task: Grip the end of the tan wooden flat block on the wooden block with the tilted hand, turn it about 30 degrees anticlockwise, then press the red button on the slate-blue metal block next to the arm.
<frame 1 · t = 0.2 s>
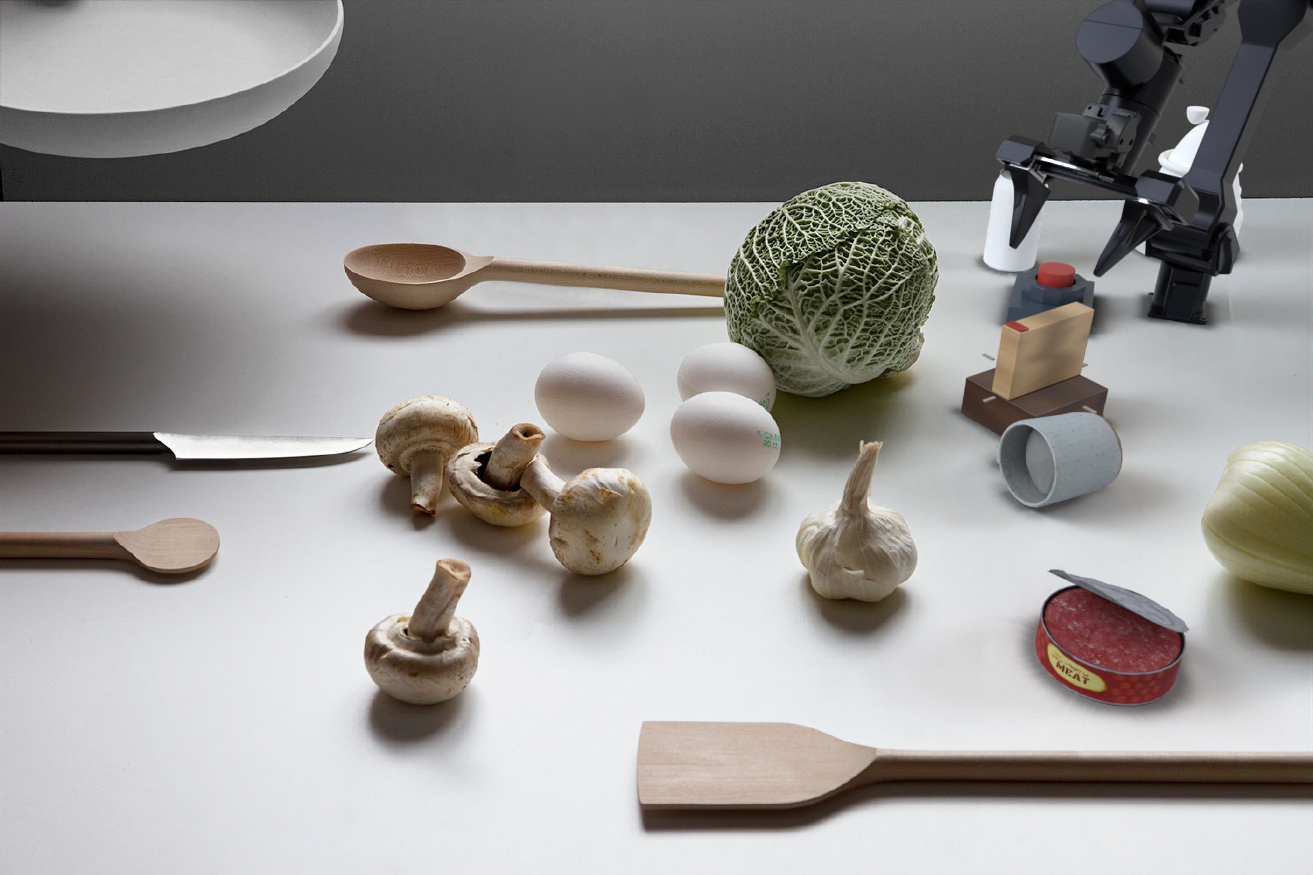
hand: (1053, 261, 109), 15 cm above the table, tool tilted 35°, fingers open, 9 cm apart
ceramic mug: (1041, 486, 102), on the table
wooden block: (1029, 418, 112), on the table
button block: (1049, 310, 134), on the table
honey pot: (1180, 248, 151), on the table
can: (1008, 265, 146), on the table
canned food: (1103, 659, 83), on the table
tan wooden flat block: (1043, 349, 108), point 8 cm above the table, hinge at 0.0°
button: (1056, 275, 132), point 4 cm above the table, slide at 0.1 cm
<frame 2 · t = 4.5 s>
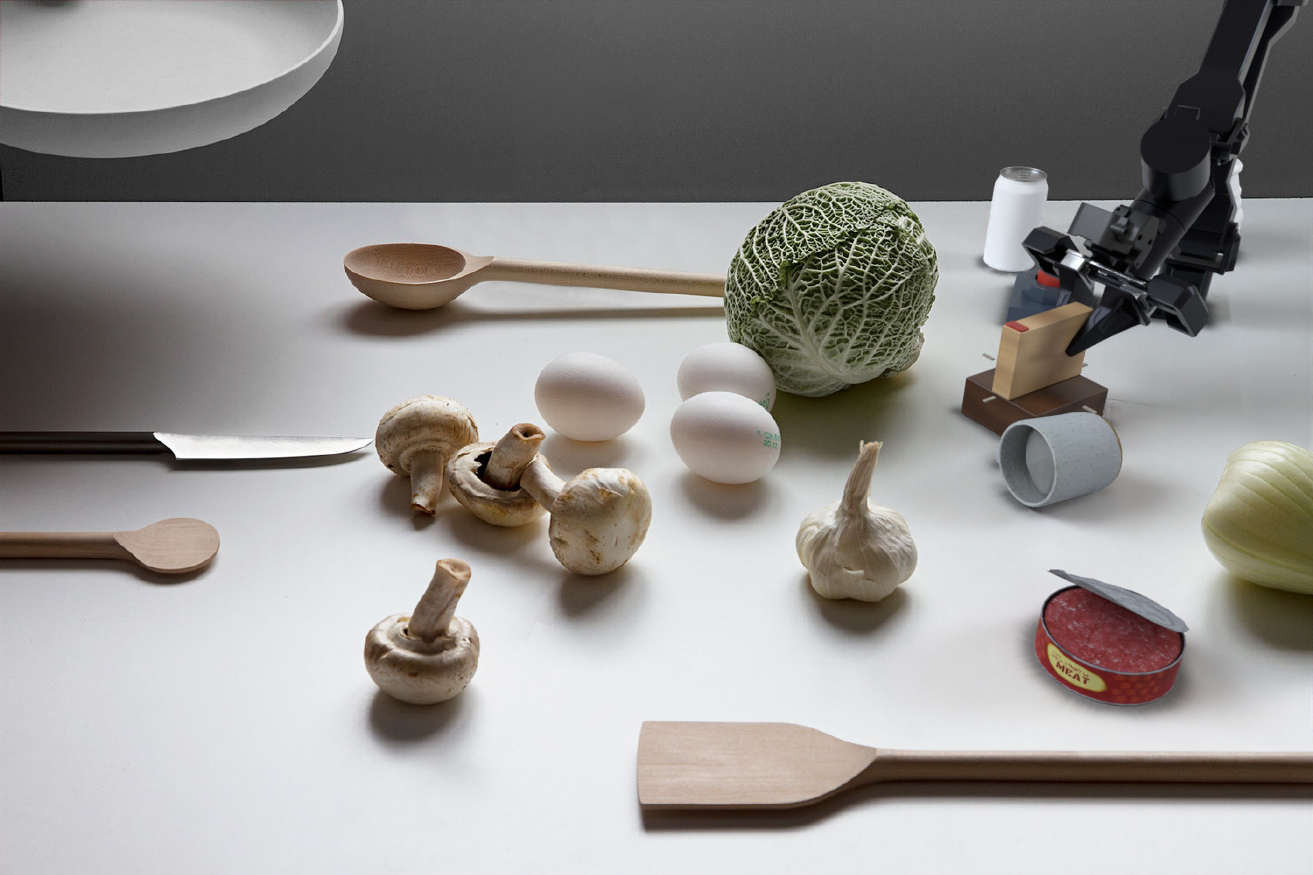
hand: (1057, 349, 110), 7 cm above the table, tool tilted 45°, fingers closed on tan wooden flat block, 2 cm apart
tan wooden flat block: (1043, 349, 108), point 8 cm above the table, hinge at 0.0°, touching gripper
everything else where it was.
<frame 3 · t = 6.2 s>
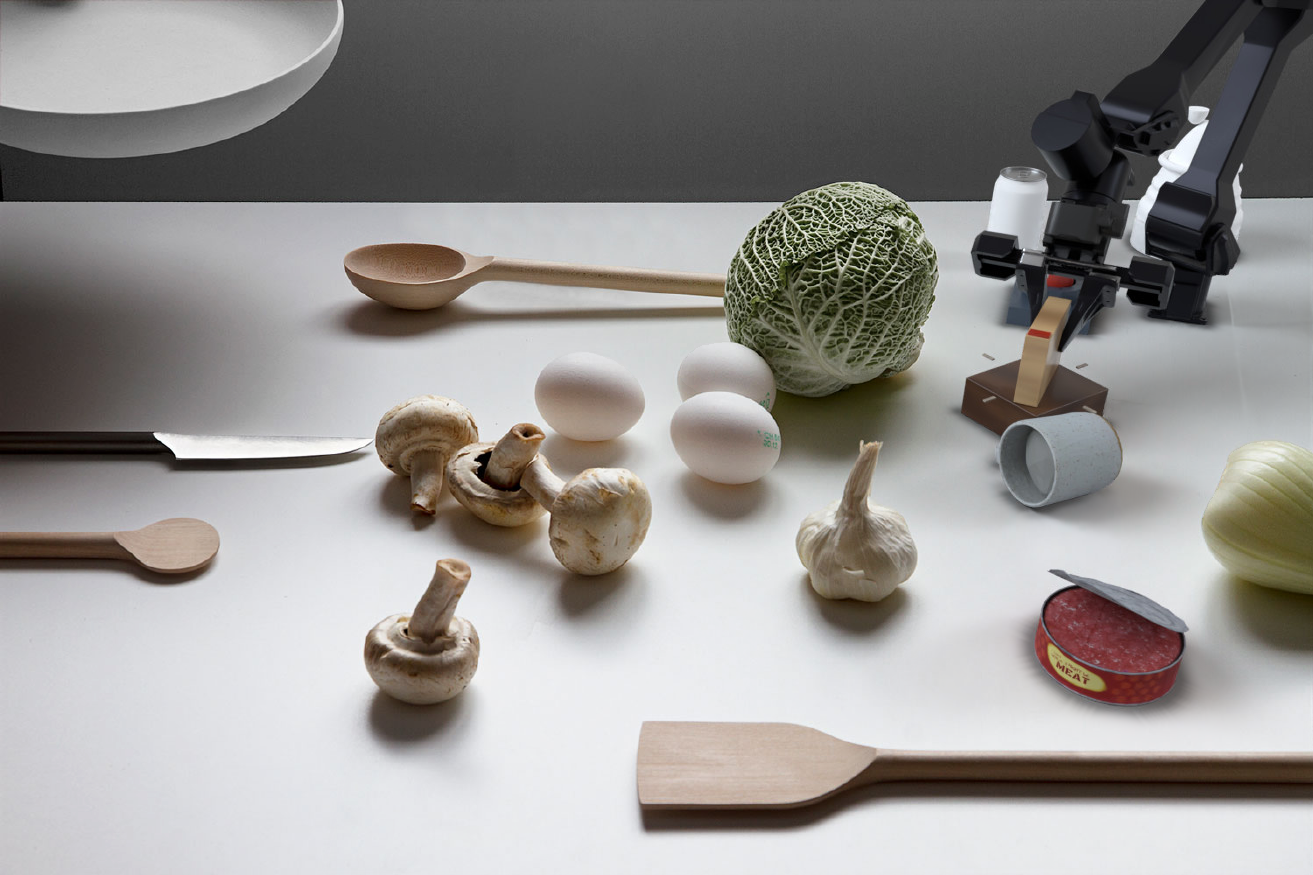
hand: (1046, 348, 110), 7 cm above the table, tool tilted 45°, fingers closed on tan wooden flat block, 2 cm apart
tan wooden flat block: (1043, 349, 108), point 8 cm above the table, hinge at 30.1°, touching gripper
everything else where it was.
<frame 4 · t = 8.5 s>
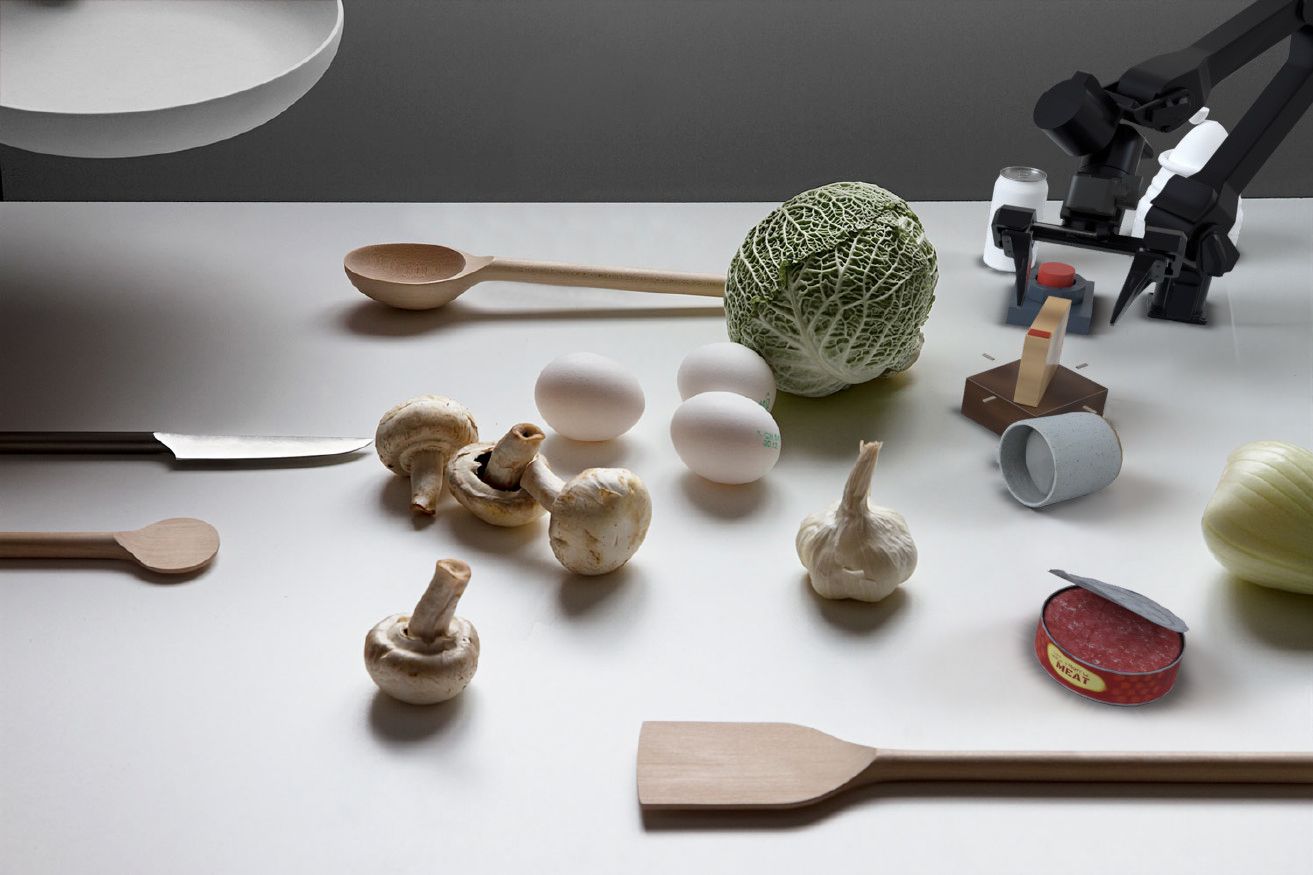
hand: (1064, 315, 115), 7 cm above the table, tool tilted 45°, fingers open, 9 cm apart
tan wooden flat block: (1043, 349, 108), point 8 cm above the table, hinge at 30.2°
everything else where it was.
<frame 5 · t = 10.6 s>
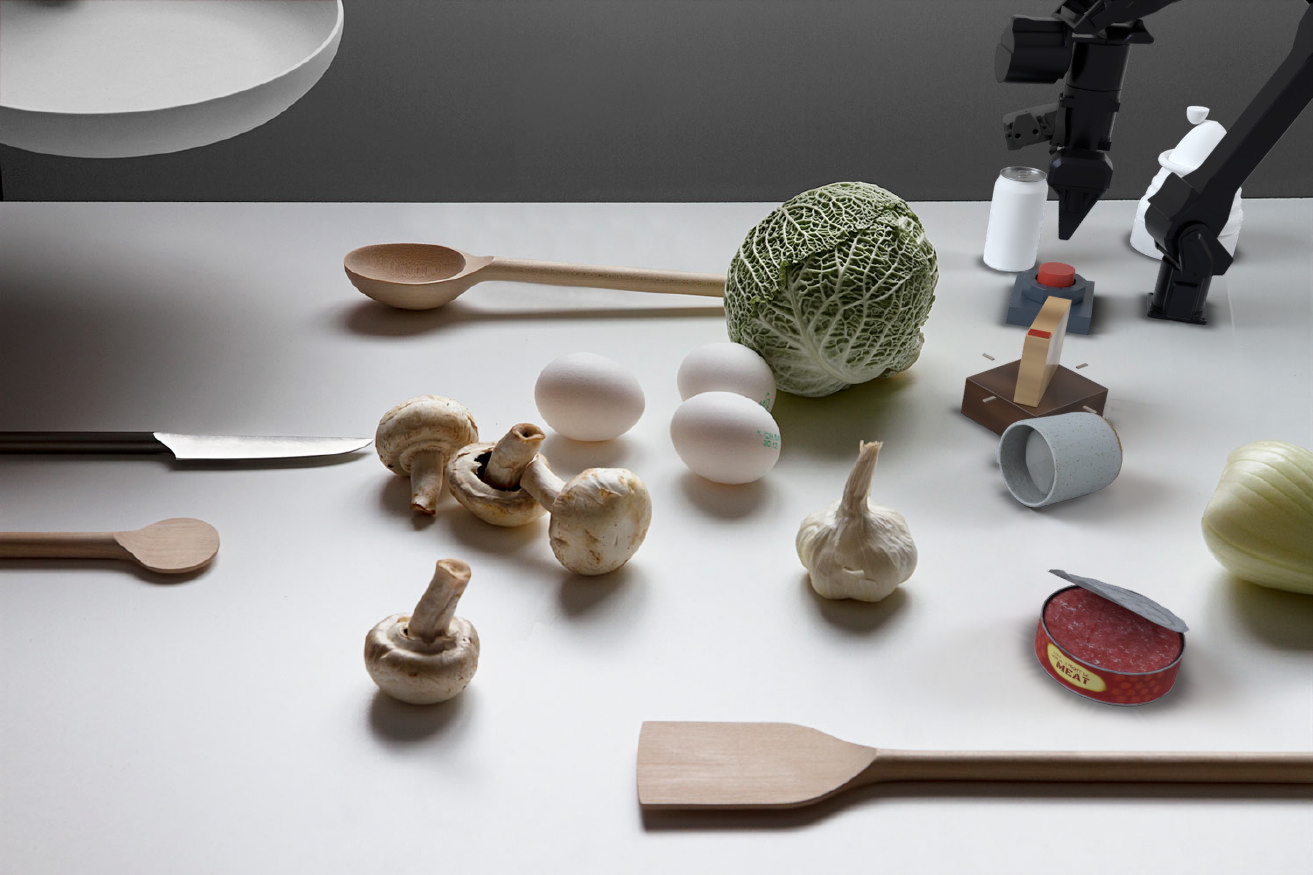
hand: (1063, 226, 128), 11 cm above the table, tool pointing down, fingers open, 9 cm apart
nothing on the table moved.
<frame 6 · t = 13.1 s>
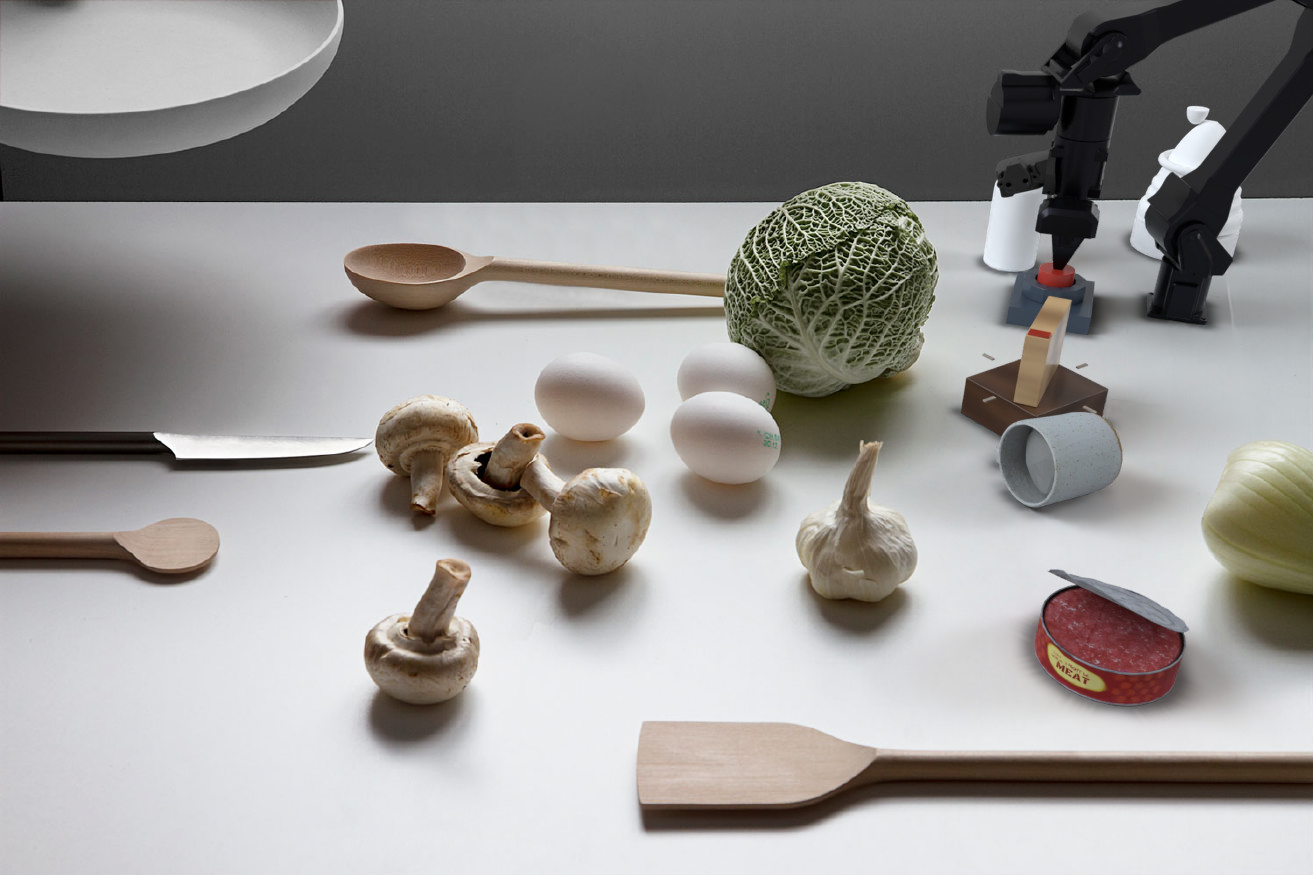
hand: (1058, 268, 131), 5 cm above the table, tool pointing down, fingers closed, pressing on button
button: (1056, 275, 132), point 4 cm above the table, slide at 0.1 cm, touching gripper
everything else where it was.
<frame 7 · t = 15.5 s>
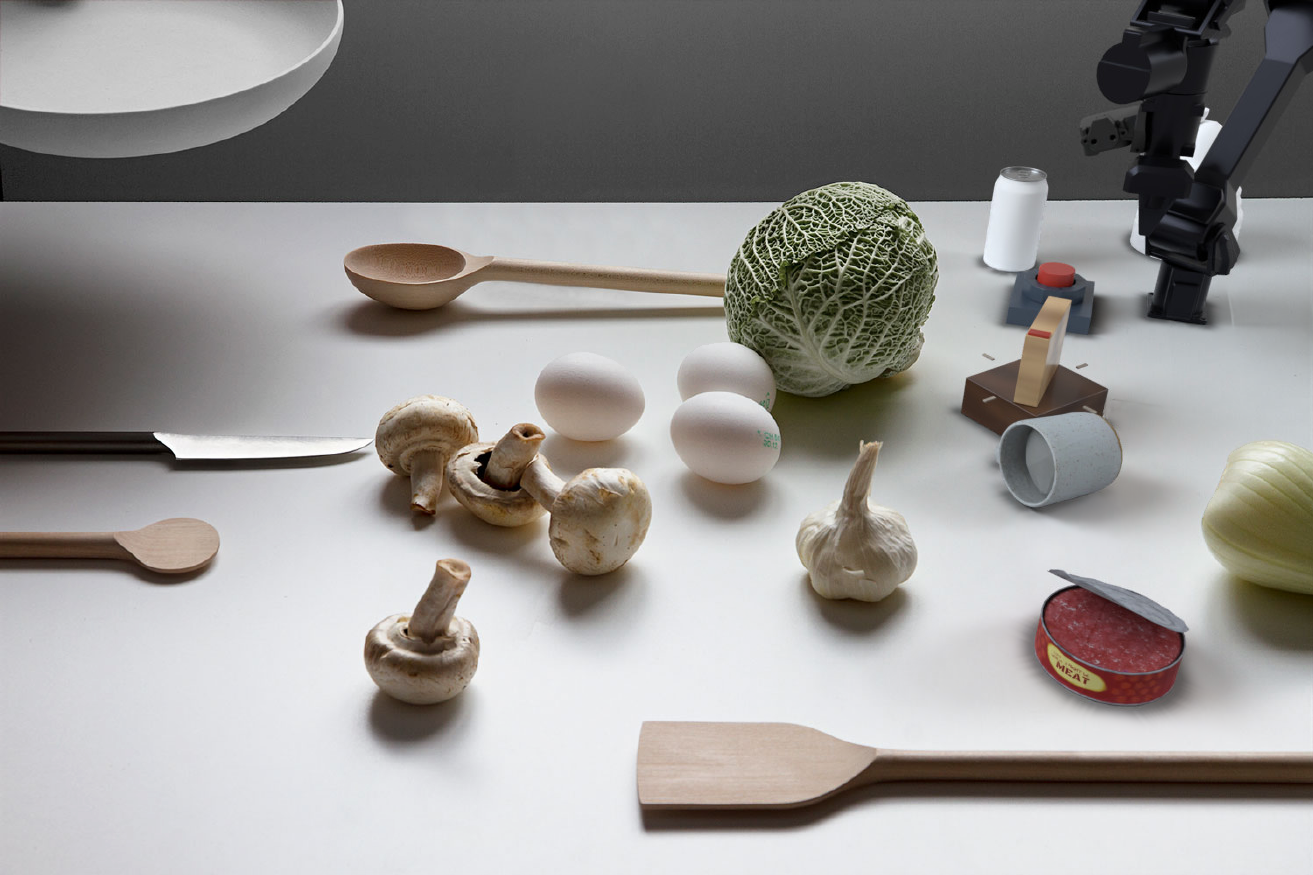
hand: (1143, 234, 122), 12 cm above the table, tool pointing down, fingers closed
button: (1056, 275, 132), point 4 cm above the table, slide at 0.1 cm
everything else where it was.
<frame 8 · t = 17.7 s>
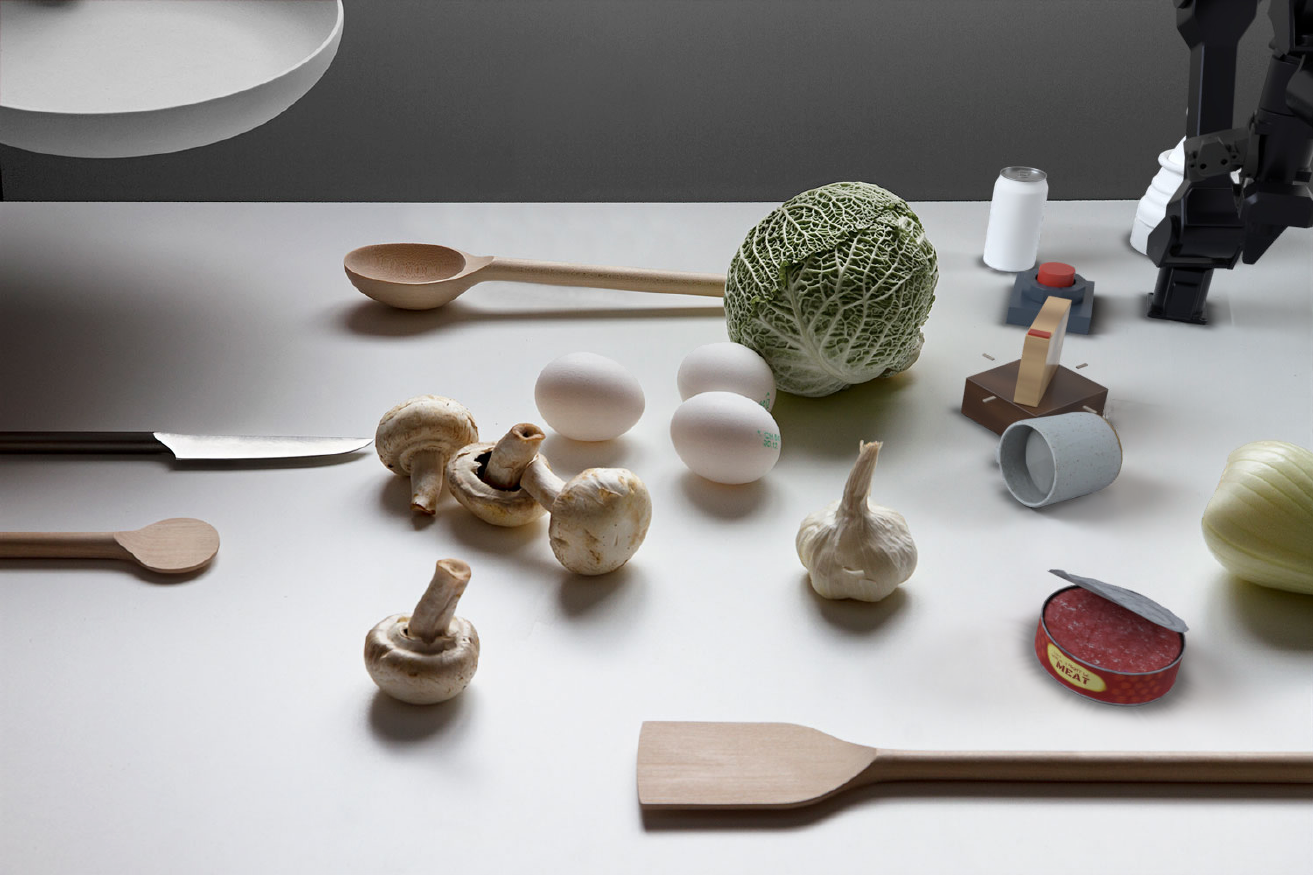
hand: (1247, 263, 115), 12 cm above the table, tool pointing down, fingers closed
nothing on the table moved.
at the end: tan wooden flat block at +30° (first picture: +0°); button pushed in 1.2 cm at the most during the clip, back to where it started at the end; button slide at 0.1 cm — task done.
